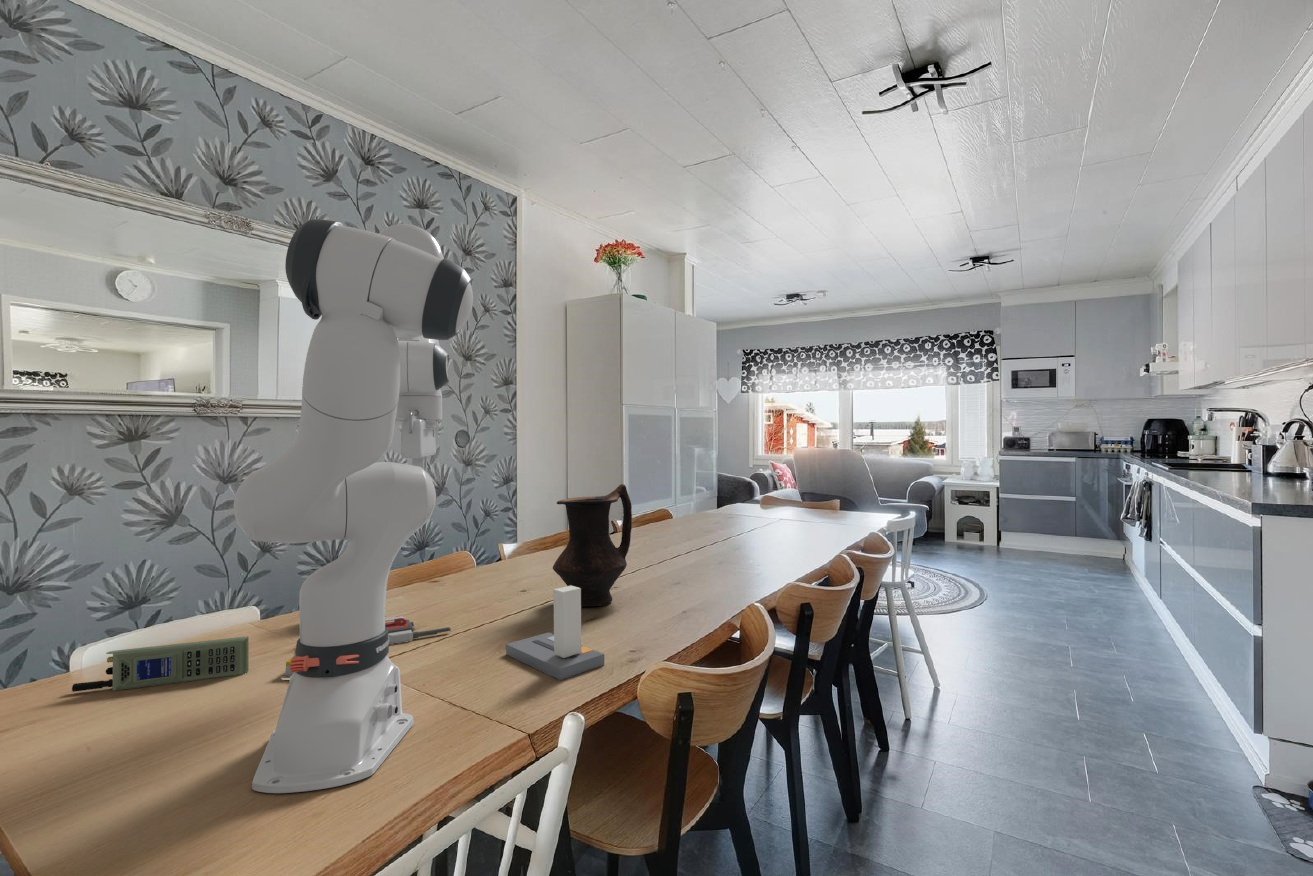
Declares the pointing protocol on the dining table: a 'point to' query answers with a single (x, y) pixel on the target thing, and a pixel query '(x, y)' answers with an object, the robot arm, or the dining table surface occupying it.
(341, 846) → the dining table surface
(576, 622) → the switch tab
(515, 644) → the switch panel
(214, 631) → the dining table surface
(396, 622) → the walkie-talkie
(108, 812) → the dining table surface
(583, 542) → the jug
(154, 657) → the handheld radio
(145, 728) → the dining table surface
